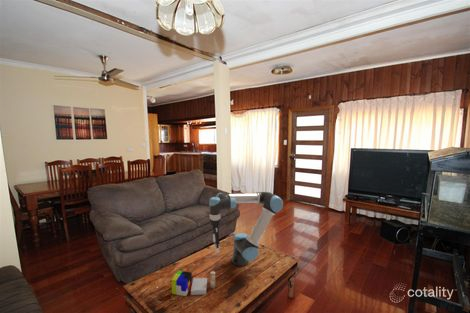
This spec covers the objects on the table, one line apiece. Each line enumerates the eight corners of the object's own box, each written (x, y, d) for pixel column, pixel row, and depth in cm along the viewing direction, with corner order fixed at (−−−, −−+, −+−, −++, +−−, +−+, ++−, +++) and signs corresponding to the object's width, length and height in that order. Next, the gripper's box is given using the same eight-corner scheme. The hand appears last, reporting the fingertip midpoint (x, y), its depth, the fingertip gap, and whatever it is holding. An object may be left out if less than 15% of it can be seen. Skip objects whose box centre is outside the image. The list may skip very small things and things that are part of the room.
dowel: (209, 284, 150) (209, 271, 149) (215, 284, 151) (215, 271, 150) (210, 288, 147) (210, 275, 146) (215, 288, 147) (215, 274, 146)
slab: (207, 282, 153) (207, 277, 153) (206, 294, 141) (206, 289, 141) (193, 282, 153) (193, 278, 152) (190, 295, 141) (190, 290, 140)
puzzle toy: (185, 296, 139) (185, 282, 138) (171, 293, 141) (171, 279, 140) (191, 285, 149) (191, 272, 148) (178, 283, 151) (178, 270, 150)
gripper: (208, 212, 163) (209, 238, 166) (211, 226, 139) (213, 257, 141) (218, 211, 165) (219, 237, 167) (223, 225, 140) (224, 255, 143)
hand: (216, 246), depth 154 cm, fingers open, 13 cm apart
